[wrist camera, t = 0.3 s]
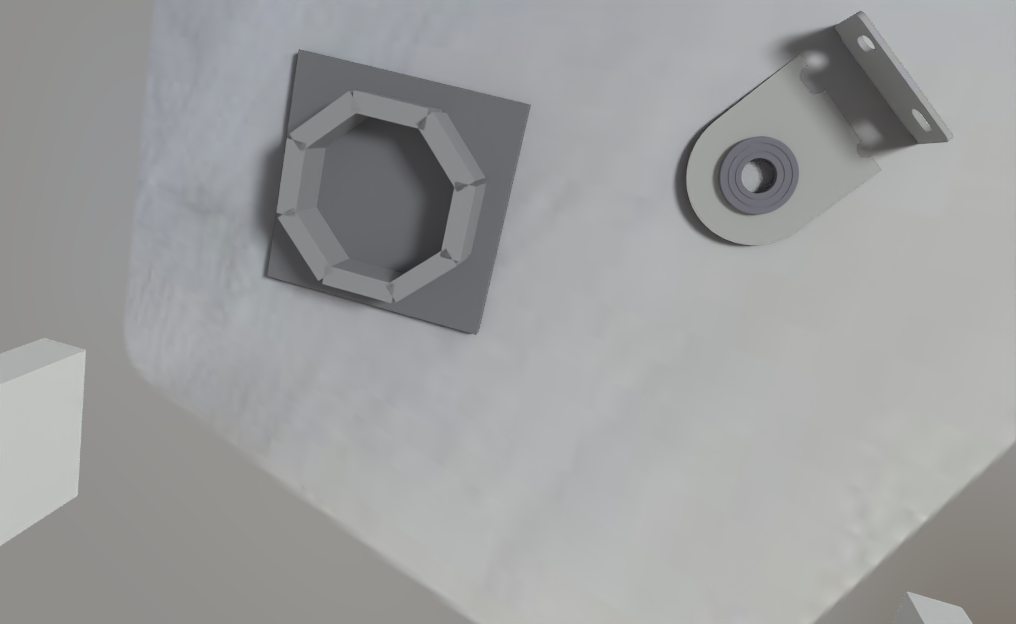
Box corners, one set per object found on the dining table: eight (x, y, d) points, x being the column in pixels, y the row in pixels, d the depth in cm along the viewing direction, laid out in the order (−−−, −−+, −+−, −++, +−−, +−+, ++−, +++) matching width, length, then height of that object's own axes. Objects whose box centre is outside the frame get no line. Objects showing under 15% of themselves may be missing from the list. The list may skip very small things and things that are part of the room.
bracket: (657, 164, 36) (659, 168, 32) (840, 21, 33) (862, 9, 29) (738, 269, 36) (747, 283, 33) (925, 137, 33) (956, 137, 30)
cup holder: (304, 50, 37) (275, 43, 34) (530, 105, 36) (520, 102, 33) (272, 273, 40) (244, 285, 37) (478, 331, 39) (465, 347, 36)
